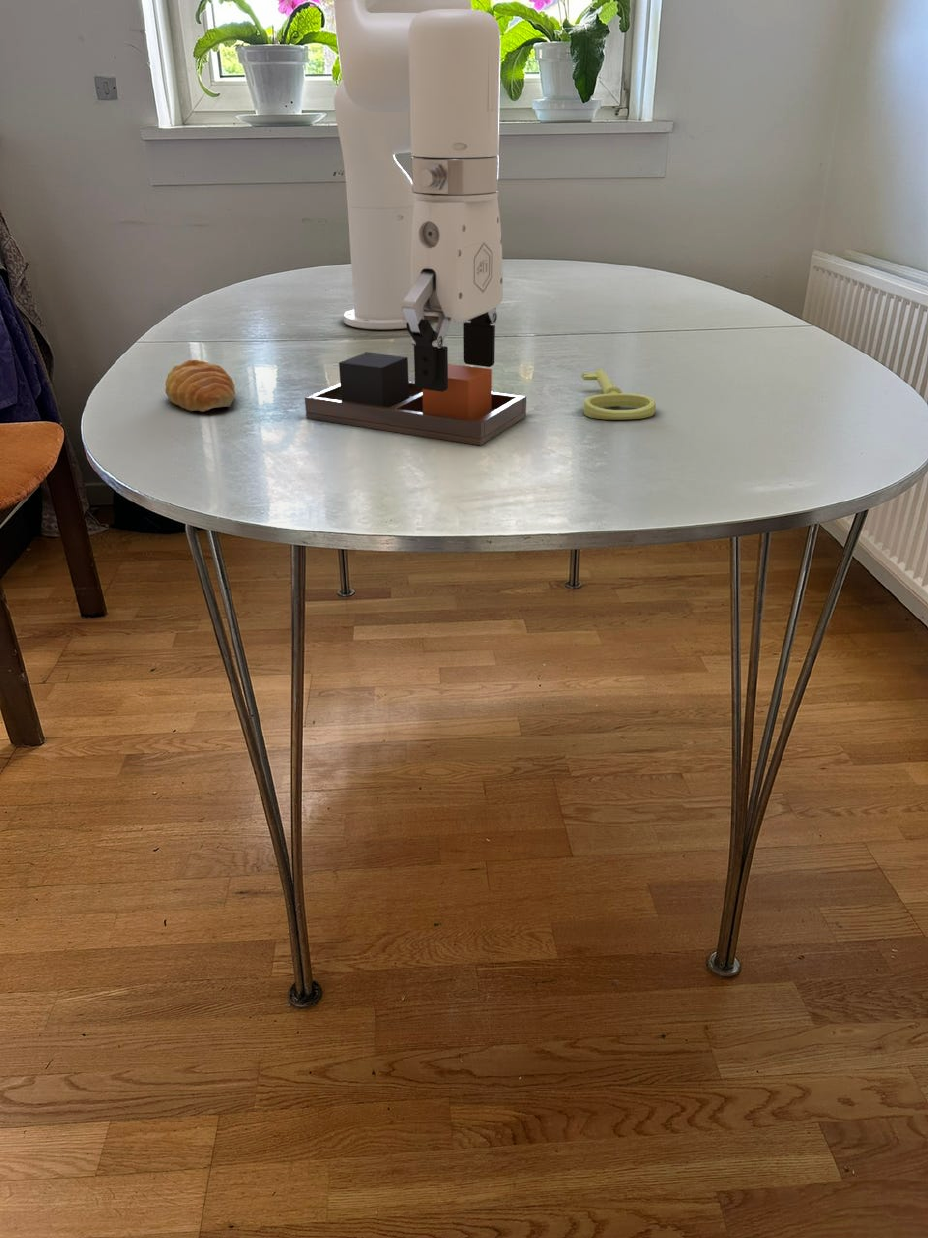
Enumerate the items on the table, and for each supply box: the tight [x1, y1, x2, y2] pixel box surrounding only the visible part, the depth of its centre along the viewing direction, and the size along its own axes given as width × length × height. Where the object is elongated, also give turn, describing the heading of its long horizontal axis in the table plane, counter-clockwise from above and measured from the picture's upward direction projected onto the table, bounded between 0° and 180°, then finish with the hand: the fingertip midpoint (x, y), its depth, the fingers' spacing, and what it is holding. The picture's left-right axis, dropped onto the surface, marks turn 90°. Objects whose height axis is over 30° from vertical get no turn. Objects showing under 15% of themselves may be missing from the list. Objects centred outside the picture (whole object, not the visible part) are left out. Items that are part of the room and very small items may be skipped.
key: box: [581, 368, 657, 421], centre depth 95 cm, size 7×12×2 cm, turn 23°
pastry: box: [165, 359, 236, 413], centre depth 96 cm, size 9×7×4 cm
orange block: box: [422, 363, 493, 420], centre depth 88 cm, size 5×5×4 cm
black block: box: [338, 351, 409, 408], centre depth 92 cm, size 5×5×4 cm
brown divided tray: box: [304, 380, 527, 446], centre depth 91 cm, size 10×20×2 cm, turn 63°
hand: (456, 376), depth 88 cm, fingers open, 9 cm apart
